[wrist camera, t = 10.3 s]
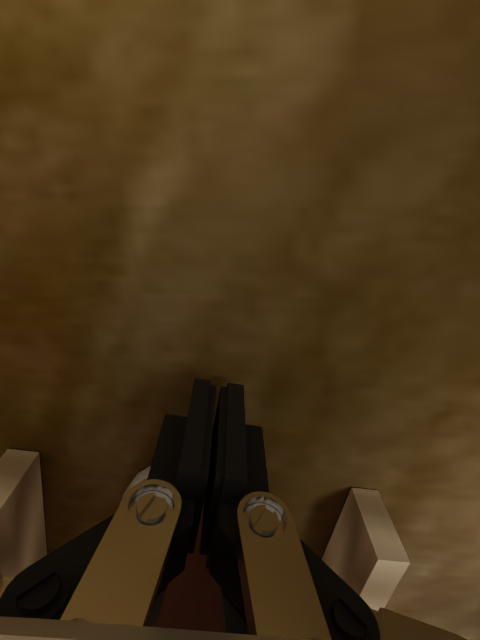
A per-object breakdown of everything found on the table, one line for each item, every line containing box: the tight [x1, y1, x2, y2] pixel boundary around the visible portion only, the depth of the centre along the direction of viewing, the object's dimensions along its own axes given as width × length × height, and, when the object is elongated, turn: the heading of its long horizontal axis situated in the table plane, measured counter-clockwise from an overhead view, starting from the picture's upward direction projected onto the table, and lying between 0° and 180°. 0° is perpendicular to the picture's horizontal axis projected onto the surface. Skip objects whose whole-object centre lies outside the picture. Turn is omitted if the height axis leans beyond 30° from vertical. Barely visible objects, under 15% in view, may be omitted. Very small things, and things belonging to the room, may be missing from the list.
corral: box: [0, 449, 410, 611], centre depth 16 cm, size 16×15×3 cm
